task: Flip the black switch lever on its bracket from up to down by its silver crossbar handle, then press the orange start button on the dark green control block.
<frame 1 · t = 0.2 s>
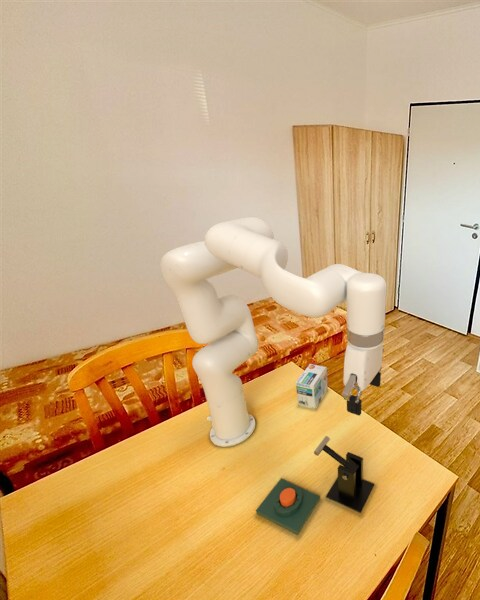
hand: (364, 397, 72), 31 cm above the table, tool pointing down, fingers open, 9 cm apart
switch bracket: (350, 492, 83), on the table
control block: (289, 508, 79), on the table
switch lever: (337, 457, 79), point 12 cm above the table, hinge at 25.0°
light bulb box: (313, 398, 113), on the table
start button: (287, 497, 77), point 4 cm above the table, slide at 0.1 cm
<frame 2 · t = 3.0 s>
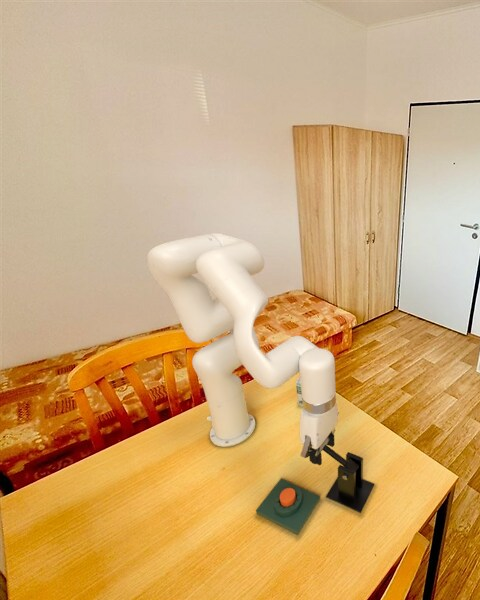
hand: (322, 452, 81), 11 cm above the table, tool pointing down, fingers closed on switch lever, 5 cm apart
switch lever: (337, 457, 79), point 12 cm above the table, hinge at 25.0°, touching gripper
everything else where it was.
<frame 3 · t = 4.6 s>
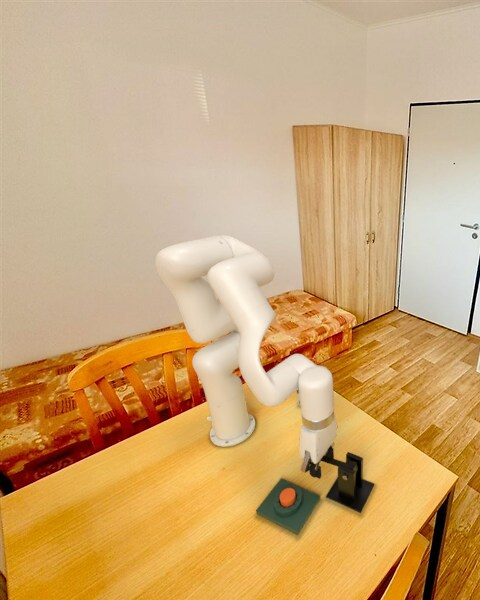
hand: (322, 465, 83), 6 cm above the table, tool pointing down, fingers closed on switch lever, 5 cm apart
switch lever: (336, 462, 80), point 10 cm above the table, hinge at -6.4°, touching gripper
everything else where it was.
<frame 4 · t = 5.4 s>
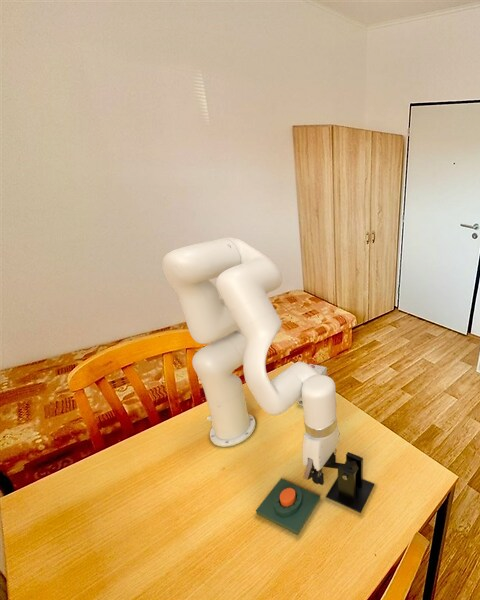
hand: (324, 472, 84), 4 cm above the table, tool pointing down, fingers closed on switch lever, 5 cm apart
switch lever: (337, 465, 81), point 9 cm above the table, hinge at -20.1°, touching gripper
everything else where it was.
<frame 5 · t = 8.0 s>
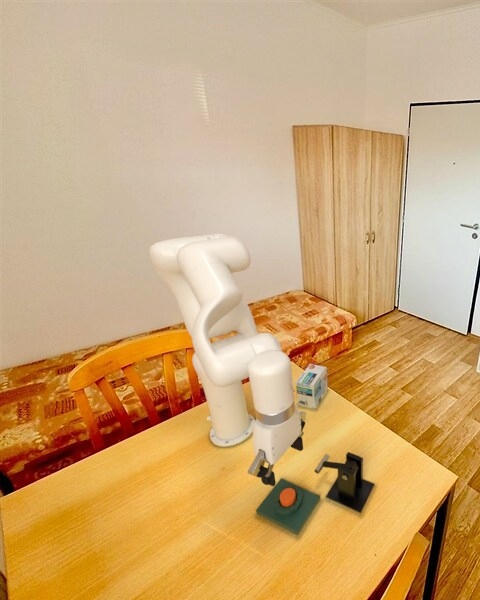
hand: (283, 464, 72), 16 cm above the table, tool pointing down, fingers open, 9 cm apart
switch lever: (337, 465, 81), point 9 cm above the table, hinge at -20.4°
everything else where it was.
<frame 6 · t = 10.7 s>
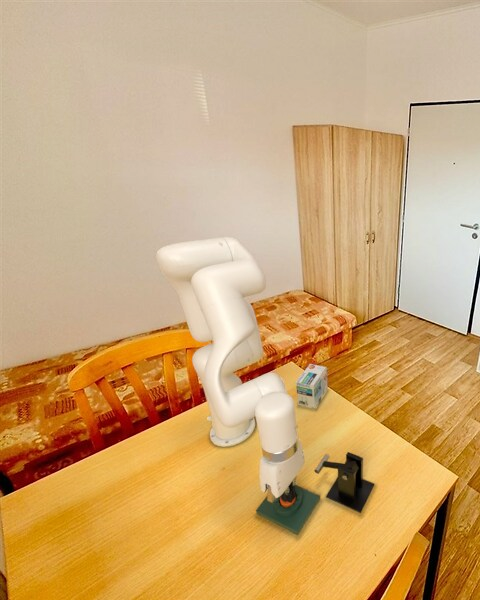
hand: (288, 497, 77), 5 cm above the table, tool pointing down, fingers closed
start button: (288, 499, 77), point 4 cm above the table, slide at -0.7 cm, touching gripper
everything else where it was.
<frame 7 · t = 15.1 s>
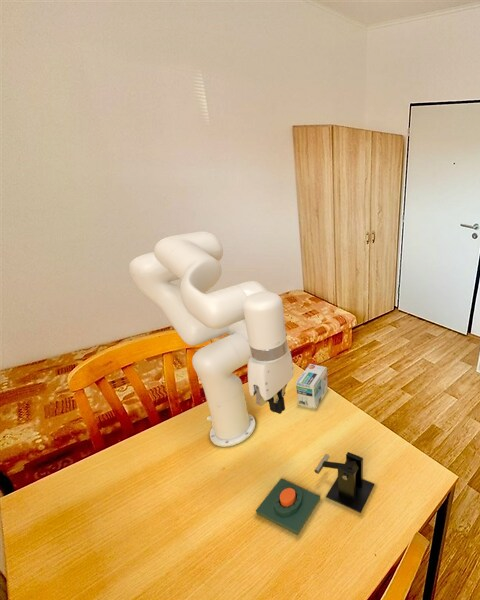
hand: (277, 409, 77), 23 cm above the table, tool pointing down, fingers closed
start button: (287, 497, 77), point 4 cm above the table, slide at 0.1 cm
everything else where it was.
at the end: switch lever at -20° (first picture: +25°); start button pushed in 1.1 cm at the most during the clip, back to where it started at the end; start button slide at 0.1 cm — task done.
